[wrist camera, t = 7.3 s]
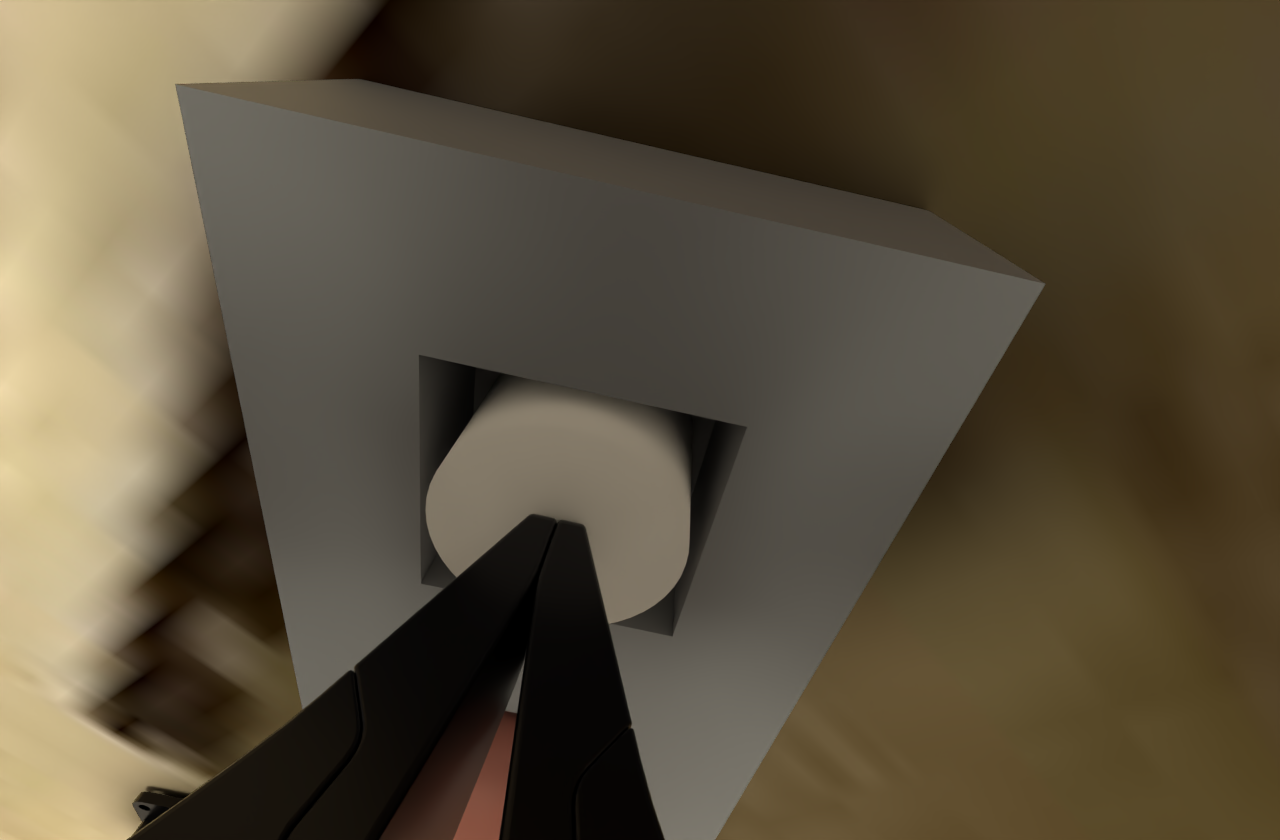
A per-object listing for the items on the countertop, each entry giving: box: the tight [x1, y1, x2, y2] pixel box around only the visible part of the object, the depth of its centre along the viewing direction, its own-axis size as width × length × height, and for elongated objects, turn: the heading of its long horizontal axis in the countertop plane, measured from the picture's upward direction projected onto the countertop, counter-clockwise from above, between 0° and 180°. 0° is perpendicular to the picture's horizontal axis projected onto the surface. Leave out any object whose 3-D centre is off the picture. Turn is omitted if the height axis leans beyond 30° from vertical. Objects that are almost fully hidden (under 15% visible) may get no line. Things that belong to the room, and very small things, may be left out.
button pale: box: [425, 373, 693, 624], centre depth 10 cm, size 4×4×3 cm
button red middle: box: [453, 711, 517, 840], centre depth 12 cm, size 4×4×3 cm
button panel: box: [175, 79, 1045, 840], centre depth 15 cm, size 10×26×4 cm, turn 169°
